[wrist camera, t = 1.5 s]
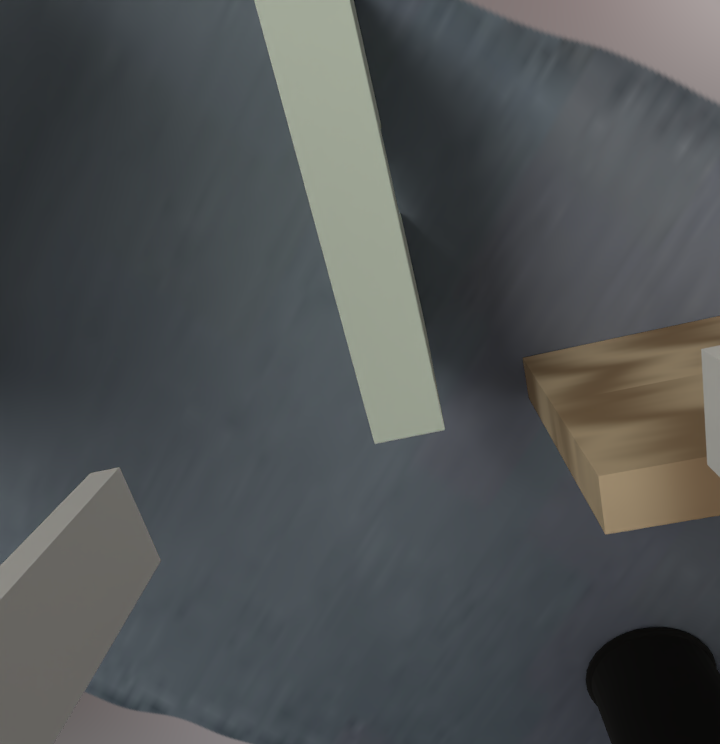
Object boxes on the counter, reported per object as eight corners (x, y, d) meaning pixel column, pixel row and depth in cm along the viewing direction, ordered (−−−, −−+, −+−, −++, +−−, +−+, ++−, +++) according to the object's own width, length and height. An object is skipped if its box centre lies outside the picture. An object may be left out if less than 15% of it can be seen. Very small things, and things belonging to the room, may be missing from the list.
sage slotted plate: (425, 327, 30) (445, 429, 19) (381, 337, 30) (374, 443, 19) (349, -18, 25) (313, -161, 14) (297, -2, 25) (219, -127, 14)
